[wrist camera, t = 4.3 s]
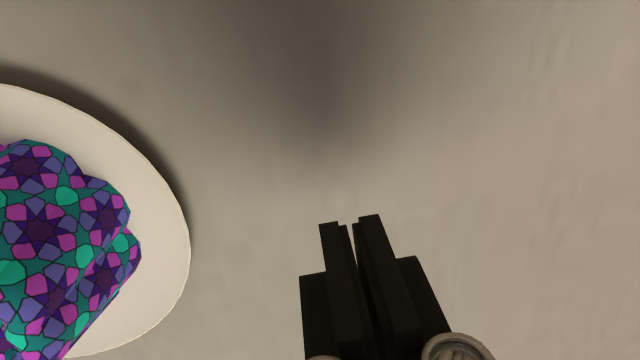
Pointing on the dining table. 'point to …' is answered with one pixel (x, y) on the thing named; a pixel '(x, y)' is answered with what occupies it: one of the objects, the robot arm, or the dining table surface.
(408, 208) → the dining table surface
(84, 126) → the pudding
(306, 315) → the robot arm
